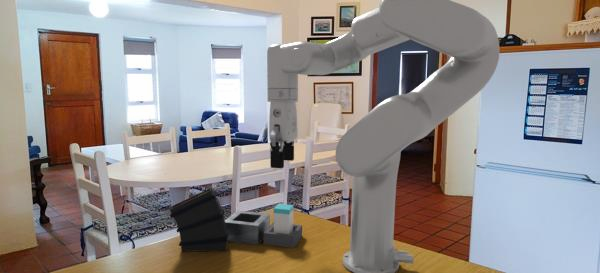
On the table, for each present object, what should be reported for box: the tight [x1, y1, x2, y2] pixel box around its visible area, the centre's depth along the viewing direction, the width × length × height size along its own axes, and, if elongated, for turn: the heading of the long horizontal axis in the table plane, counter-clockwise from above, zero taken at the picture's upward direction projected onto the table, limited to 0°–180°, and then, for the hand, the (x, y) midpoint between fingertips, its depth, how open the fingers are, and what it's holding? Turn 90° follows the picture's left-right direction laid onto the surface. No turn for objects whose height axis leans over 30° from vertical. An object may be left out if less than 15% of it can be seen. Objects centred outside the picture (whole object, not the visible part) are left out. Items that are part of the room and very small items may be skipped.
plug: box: [273, 203, 294, 234], centre depth 106 cm, size 4×4×9 cm
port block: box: [224, 210, 271, 246], centre depth 109 cm, size 10×10×5 cm
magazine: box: [169, 187, 228, 252], centre depth 100 cm, size 4×13×15 cm, turn 94°
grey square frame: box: [263, 221, 303, 249], centre depth 107 cm, size 8×8×3 cm
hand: (282, 163), depth 104 cm, fingers open, 9 cm apart
